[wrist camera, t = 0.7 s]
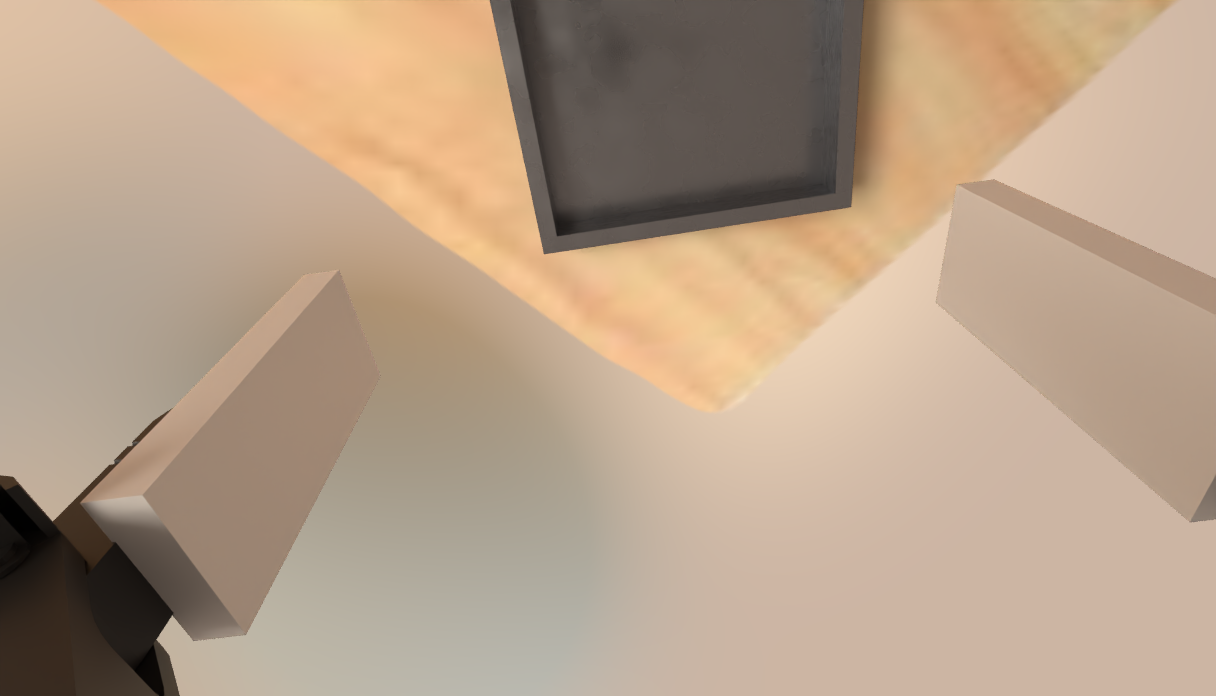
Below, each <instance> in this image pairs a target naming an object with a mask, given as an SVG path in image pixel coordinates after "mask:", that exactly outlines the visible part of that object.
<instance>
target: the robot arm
mask: <svg viewBox="0 0 1216 696" xmlns="http://www.w3.org/2000/svg"><path fill="white" fill-rule="evenodd" d="M936 303H937V304H938V305H939V306H940V307H941V308H943V309H944V310H945V311H946V312H947V313H948V314H950V315H951V316H952V317H953V318H954V319H955V320H956V321H958V322H959V323H960V324H961V325H962V326H963V327H965V328H966V329H967V330H968V331H969V332H970V333H972V334H973V335H974V336H975V337H976V338H977V339H978V340H980V341H981V342H982V343H983V344H984V345H985V346H987V347H988V348H989V349H990V350H991V351H992V352H993V353H995V354H996V355H997V356H998V357H999V358H1000V359H1002V360H1003V361H1004V362H1005V363H1006V364H1007V365H1008V366H1010V367H1011V368H1012V369H1013V370H1014V371H1016V372H1017V373H1018V374H1019V375H1020V376H1021V377H1022V378H1024V379H1025V380H1026V381H1027V382H1028V383H1029V384H1030V385H1032V386H1033V387H1034V388H1035V389H1036V390H1037V391H1039V392H1040V393H1041V394H1042V395H1043V396H1044V397H1046V398H1047V399H1048V400H1049V401H1050V402H1051V403H1052V404H1054V405H1055V406H1056V407H1057V408H1058V409H1059V410H1061V411H1062V412H1063V413H1064V414H1065V415H1066V416H1067V417H1069V418H1070V419H1071V420H1072V421H1073V422H1074V423H1076V424H1077V425H1078V426H1079V427H1080V428H1081V429H1082V430H1084V431H1085V432H1086V433H1087V434H1088V435H1089V436H1091V437H1092V438H1093V439H1094V440H1095V441H1096V442H1097V443H1099V444H1100V445H1101V446H1102V447H1104V449H1106V450H1107V451H1108V452H1109V453H1110V454H1111V455H1112V456H1114V457H1115V458H1116V459H1117V460H1118V461H1119V462H1121V463H1122V464H1123V465H1124V466H1125V467H1126V468H1128V469H1129V470H1130V471H1131V472H1132V473H1133V474H1134V475H1136V476H1137V477H1138V478H1139V479H1140V480H1142V481H1143V482H1144V483H1145V484H1146V485H1147V486H1148V487H1149V488H1151V489H1152V490H1153V491H1154V492H1155V493H1157V494H1158V495H1159V496H1160V497H1161V498H1162V499H1163V500H1165V501H1166V502H1167V503H1168V504H1169V505H1170V506H1171V507H1173V508H1174V509H1175V510H1176V511H1177V512H1178V513H1180V514H1181V515H1182V516H1183V517H1184V518H1185V519H1187V520H1188V521H1189V522H1197V521H1205V520H1214V519H1216V279H1215V278H1213V277H1211V276H1209V275H1206V274H1204V273H1202V272H1200V271H1197V270H1195V269H1193V268H1191V267H1189V266H1186V265H1184V264H1182V263H1180V262H1177V261H1175V260H1173V259H1171V258H1168V257H1166V256H1164V255H1162V254H1159V253H1157V252H1155V251H1153V250H1150V249H1148V248H1146V247H1144V246H1142V245H1139V244H1137V243H1135V242H1133V241H1130V240H1128V239H1126V238H1124V237H1121V236H1119V235H1117V234H1115V233H1112V232H1110V231H1108V230H1106V229H1103V228H1101V227H1099V226H1097V225H1095V224H1092V223H1090V222H1088V221H1086V220H1083V219H1081V218H1079V217H1077V216H1074V215H1072V214H1070V213H1067V212H1066V211H1063V210H1061V209H1059V208H1057V207H1054V206H1052V205H1050V204H1048V203H1045V202H1043V201H1041V200H1039V199H1036V198H1034V197H1032V196H1030V195H1027V194H1025V193H1023V192H1021V191H1018V190H1016V189H1014V188H1012V187H1010V186H1007V185H1005V184H1003V183H1001V182H998V181H996V180H987V181H980V182H973V183H965V184H958V185H957V186H956V192H955V197H954V203H953V208H952V214H951V220H950V226H949V231H948V237H947V242H946V248H945V253H944V259H943V264H942V270H941V276H940V282H939V287H938V293H937V298H936ZM380 376H381V375H380V372H379V370H378V367H377V365H376V363H375V360H374V357H373V355H372V352H371V350H370V347H369V345H368V342H367V339H366V337H365V334H364V332H363V330H362V327H361V324H360V322H359V319H358V317H357V314H356V312H355V310H354V307H353V304H352V302H351V299H350V296H349V294H348V291H347V289H346V286H345V284H344V281H343V279H342V276H341V275H340V271H339V270H334V271H327V272H320V273H312V274H305V275H303V276H302V277H301V278H300V279H299V280H298V281H297V282H296V283H295V284H294V285H293V286H292V287H291V289H289V290H288V292H287V293H286V294H285V295H284V296H283V297H282V298H281V299H280V300H279V301H278V302H277V303H276V304H275V305H274V306H273V307H272V308H271V309H270V310H269V311H268V312H267V313H266V314H265V315H264V316H263V317H262V318H261V319H260V320H259V321H258V322H257V323H256V324H255V325H254V326H253V327H252V328H251V329H250V330H249V331H248V332H247V333H246V334H245V335H244V336H243V337H242V338H241V340H239V341H238V342H237V344H236V345H234V347H233V348H232V349H231V350H230V351H229V352H228V353H227V354H226V355H225V356H224V357H223V358H222V359H221V360H220V361H219V362H218V363H217V364H216V365H215V366H214V367H213V368H212V369H211V370H210V371H209V372H208V373H207V374H206V375H205V376H204V377H203V378H202V379H201V380H200V381H199V382H198V383H197V384H196V385H195V386H194V387H193V388H192V389H191V390H190V391H189V392H188V393H187V394H186V395H185V396H184V398H183V399H181V400H180V401H179V403H178V404H177V405H176V406H175V407H173V408H172V409H170V410H169V411H167V412H166V413H165V414H163V415H161V416H160V417H158V418H157V419H155V420H154V421H153V422H152V423H151V424H150V425H149V426H148V427H147V428H146V429H145V430H144V431H143V432H142V433H141V434H140V435H139V436H138V437H137V438H136V439H135V440H134V441H133V442H132V443H133V446H129V447H127V448H126V449H125V450H124V451H123V452H122V453H121V454H120V455H119V456H118V457H117V458H116V459H115V460H114V461H115V464H113V465H109V466H108V467H107V468H106V469H105V470H104V471H103V472H102V473H101V474H100V475H99V476H98V477H97V478H96V479H95V480H94V481H93V482H92V483H91V484H90V485H89V486H88V487H87V488H86V489H85V490H84V491H83V492H82V493H81V494H80V495H79V496H78V497H77V498H76V499H75V500H74V501H73V502H72V503H71V504H70V505H69V506H68V507H67V508H66V509H65V510H64V511H63V512H62V513H61V514H60V515H59V516H58V517H57V518H56V519H55V520H54V521H53V522H52V521H51V519H50V518H49V517H48V516H47V515H46V514H45V513H44V511H42V509H41V508H40V507H39V506H38V505H37V503H36V502H35V501H34V500H33V499H32V498H31V497H30V495H29V494H28V493H27V492H26V491H25V490H24V489H23V488H22V486H21V485H20V484H19V483H18V482H17V481H16V480H15V478H14V477H10V476H0V696H180V695H179V691H178V687H177V683H176V680H175V676H174V672H173V668H172V664H171V661H170V656H169V655H168V653H167V652H166V651H165V649H164V648H163V647H162V646H161V644H160V643H159V642H158V641H157V640H156V639H157V638H158V636H159V634H160V633H161V631H162V630H163V629H164V627H165V625H166V624H167V622H168V621H169V619H170V618H171V616H172V615H173V617H174V618H175V619H176V620H177V621H178V623H179V624H180V625H181V626H182V628H183V629H184V630H185V631H186V632H187V633H188V635H189V636H190V637H191V638H192V640H193V641H198V640H207V639H215V638H224V637H232V636H240V635H246V634H247V632H248V630H249V628H250V626H251V624H252V622H253V620H254V618H255V617H256V615H257V613H258V611H259V609H260V607H261V605H262V603H263V601H264V599H265V597H266V595H267V594H268V592H269V590H270V588H271V586H272V584H273V582H274V580H275V578H276V576H277V574H278V572H279V570H280V569H281V567H282V565H283V562H284V561H285V559H286V557H287V555H288V553H289V551H290V549H291V547H292V545H293V544H294V542H295V540H296V538H297V536H298V534H299V532H300V530H301V528H302V526H303V524H304V522H305V521H306V518H307V517H308V515H309V513H310V511H311V509H312V507H313V505H314V503H315V501H316V499H317V497H318V495H319V494H320V492H321V490H322V488H323V486H324V484H325V482H326V480H327V478H328V476H329V474H330V472H331V471H332V469H333V467H334V465H335V463H336V461H337V459H338V457H339V455H340V453H341V451H342V449H343V447H344V446H345V444H346V442H347V440H348V438H349V436H350V434H351V432H352V430H353V428H354V426H355V424H356V423H357V421H358V419H359V417H360V415H361V413H362V411H363V409H364V407H365V405H366V403H367V401H368V399H369V398H370V396H371V394H372V392H373V390H374V388H375V386H376V384H377V382H378V380H379V378H380Z"/></svg>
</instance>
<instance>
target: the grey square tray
mask: <svg viewBox="0 0 1216 696" xmlns="http://www.w3.org/2000/svg"><path fill="white" fill-rule="evenodd" d="M490 3H491V8H492V13H493V17H494V22H495V27H496V31H497V36H498V41H499V46H500V50H501V55H502V60H503V64H504V69H505V74H506V78H507V83H508V88H509V92H510V97H511V102H512V106H513V111H514V116H515V120H516V125H517V130H518V134H519V139H520V144H521V148H522V153H523V158H524V163H525V167H526V172H527V177H528V181H529V186H530V191H531V195H532V200H533V205H534V209H535V214H536V219H537V223H538V228H539V233H540V237H541V242H542V247H543V251H544V254H549V253H556V252H562V251H569V250H575V249H582V248H588V247H595V246H601V245H608V244H614V243H621V242H627V241H634V240H640V239H647V238H653V237H660V236H666V235H673V234H679V233H686V232H692V231H699V230H705V229H712V228H718V227H725V226H731V225H738V224H744V223H751V222H757V221H764V220H770V219H777V218H783V217H790V216H796V215H803V214H809V213H816V212H822V211H829V210H836V209H842V208H849V207H851V201H852V184H853V168H854V151H855V135H856V119H857V102H858V86H859V69H860V53H861V36H862V20H863V4H864V0H490Z"/></svg>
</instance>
